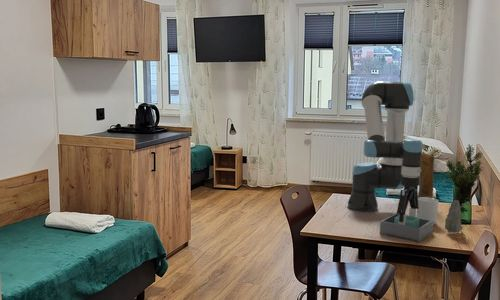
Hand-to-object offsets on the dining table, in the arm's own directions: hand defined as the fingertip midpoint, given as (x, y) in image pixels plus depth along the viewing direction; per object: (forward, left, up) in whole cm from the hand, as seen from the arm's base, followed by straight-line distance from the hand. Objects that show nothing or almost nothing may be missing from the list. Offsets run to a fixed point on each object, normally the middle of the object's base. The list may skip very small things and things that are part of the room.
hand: (406, 226), depth 204 cm
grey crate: (0, 0, -3) cm, 3 cm away
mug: (0, +24, -3) cm, 24 cm away
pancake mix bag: (-11, +55, -3) cm, 56 cm away
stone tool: (+15, +15, -3) cm, 21 cm away
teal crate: (0, 0, -2) cm, 2 cm away
